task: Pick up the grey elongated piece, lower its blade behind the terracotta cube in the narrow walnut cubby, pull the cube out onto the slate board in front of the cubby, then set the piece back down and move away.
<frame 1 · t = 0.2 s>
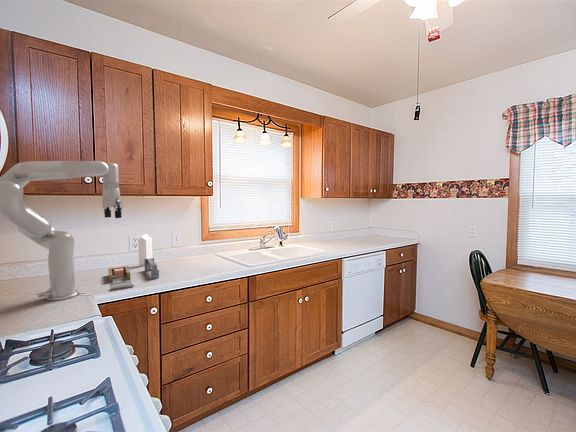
hand: (113, 217, 156), 36 cm above the worktop, tool pointing down, fingers open, 9 cm apart
cubby: (119, 279, 165), on the worktop
cube: (119, 277, 166), point 1 cm above the worktop, touching cubby
grey elongated piece: (152, 275, 172), on the worktop
milk: (146, 266, 195), on the worktop
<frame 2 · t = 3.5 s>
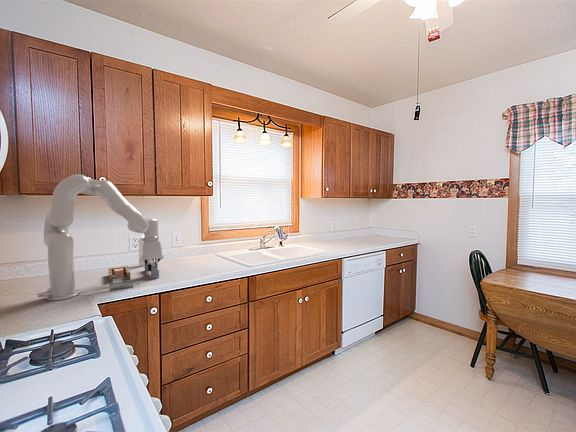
hand: (152, 269, 169), 4 cm above the worktop, tool pointing down, fingers closed on grey elongated piece
grey elongated piece: (152, 275, 172), on the worktop, touching gripper
everything else where it was.
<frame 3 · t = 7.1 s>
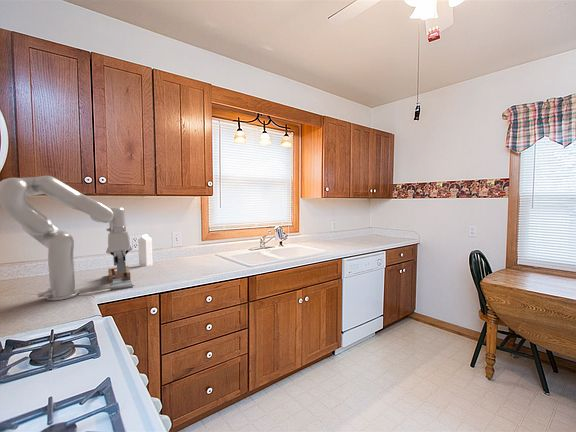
hand: (120, 262, 158), 11 cm above the worktop, tool pointing down, fingers closed on grey elongated piece
grey elongated piece: (120, 268, 161), point 7 cm above the worktop, touching gripper
everything else where it was.
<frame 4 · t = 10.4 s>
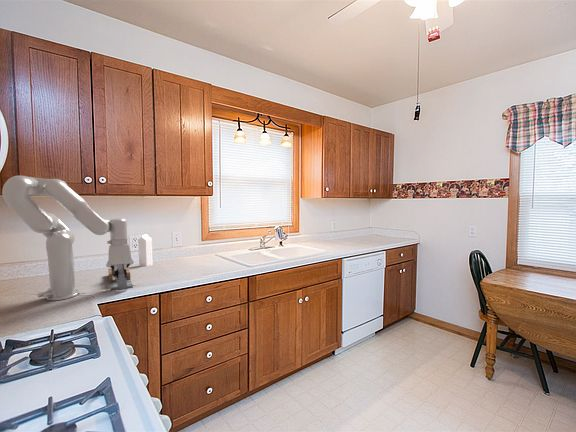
hand: (120, 276, 150), 6 cm above the worktop, tool pointing down, fingers closed on grey elongated piece
cube: (120, 279, 160), point 1 cm above the worktop, tilted 6°, touching cubby
grey elongated piece: (120, 282, 153), point 2 cm above the worktop, tilted 6°, touching gripper
everything else where it was.
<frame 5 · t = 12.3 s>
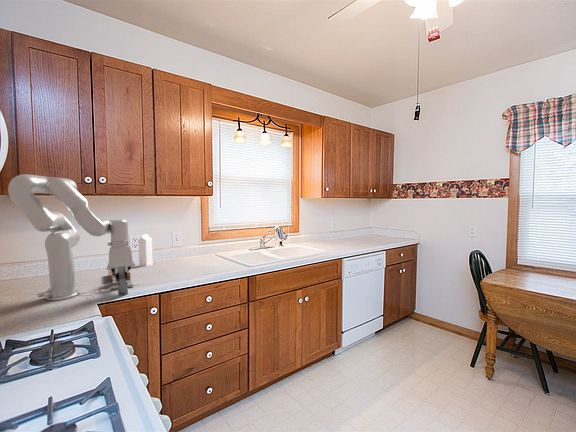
hand: (121, 279, 145), 6 cm above the worktop, tool pointing down, fingers closed on grey elongated piece
cube: (120, 282, 155), point 1 cm above the worktop, tilted 11°, touching cubby, grey elongated piece
grey elongated piece: (121, 284, 148), point 2 cm above the worktop, tilted 11°, touching cube, gripper
everything else where it was.
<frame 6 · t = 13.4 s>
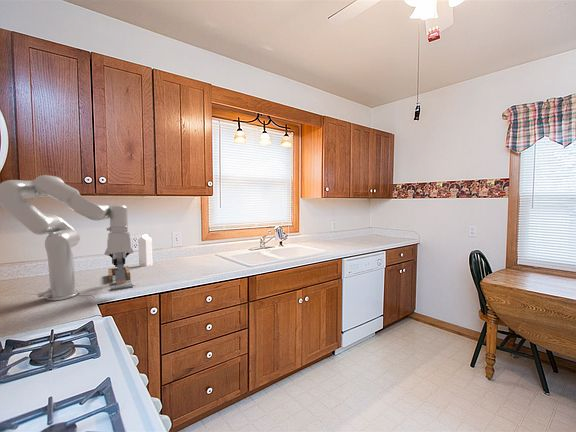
hand: (119, 265, 144), 13 cm above the worktop, tool pointing down, fingers closed on grey elongated piece
cube: (120, 282, 155), point 1 cm above the worktop, touching cubby
grey elongated piece: (119, 271, 148), point 9 cm above the worktop, tilted 12°, touching gripper
everything else where it was.
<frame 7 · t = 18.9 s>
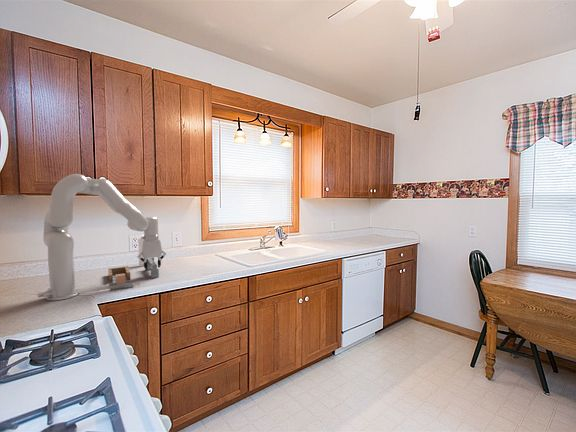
hand: (152, 267, 169), 6 cm above the worktop, tool pointing down, fingers open, 6 cm apart
grey elongated piece: (152, 275, 174), on the worktop
everything else where it was.
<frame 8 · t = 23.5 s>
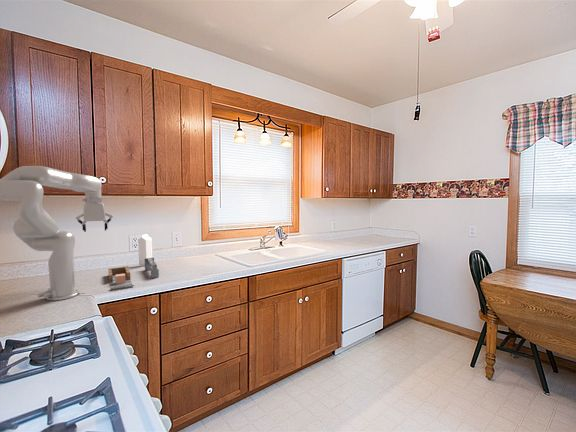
hand: (95, 231, 162), 28 cm above the worktop, tool pointing down, fingers open, 9 cm apart
nothing on the worktop moved.
at the end: cube inside the target area (1.7 cm from its centre), point 1.0 cm above the worktop; cube tilted 0°; the gripper is holding nothing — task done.
